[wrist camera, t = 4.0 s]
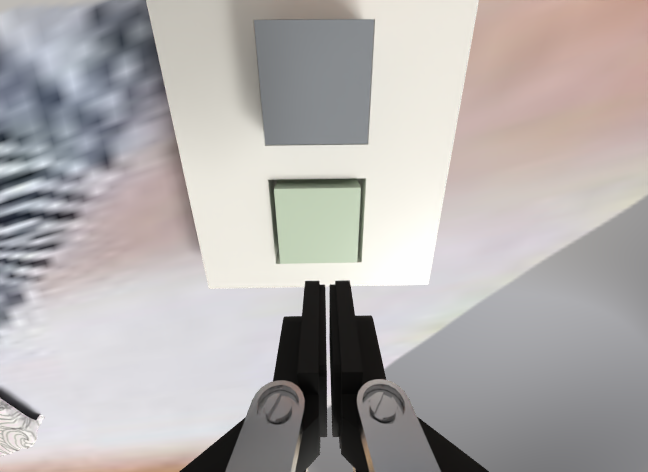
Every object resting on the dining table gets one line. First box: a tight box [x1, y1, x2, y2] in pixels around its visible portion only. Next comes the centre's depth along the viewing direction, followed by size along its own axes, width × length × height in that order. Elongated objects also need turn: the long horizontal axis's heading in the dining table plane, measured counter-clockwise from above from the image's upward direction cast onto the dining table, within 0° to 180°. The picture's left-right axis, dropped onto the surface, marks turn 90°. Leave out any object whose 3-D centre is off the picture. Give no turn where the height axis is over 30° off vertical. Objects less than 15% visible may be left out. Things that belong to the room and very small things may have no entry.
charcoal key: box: [254, 19, 374, 145], centre depth 15 cm, size 5×5×2 cm
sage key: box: [274, 178, 361, 264], centre depth 20 cm, size 5×5×2 cm
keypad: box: [146, 0, 479, 289], centre depth 17 cm, size 16×26×3 cm, turn 0°
